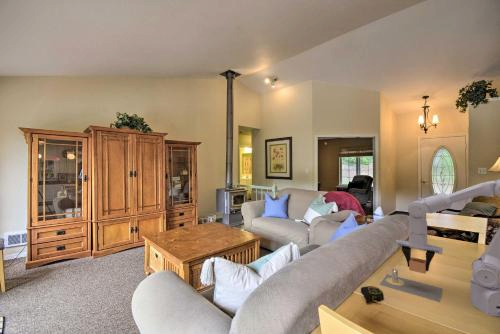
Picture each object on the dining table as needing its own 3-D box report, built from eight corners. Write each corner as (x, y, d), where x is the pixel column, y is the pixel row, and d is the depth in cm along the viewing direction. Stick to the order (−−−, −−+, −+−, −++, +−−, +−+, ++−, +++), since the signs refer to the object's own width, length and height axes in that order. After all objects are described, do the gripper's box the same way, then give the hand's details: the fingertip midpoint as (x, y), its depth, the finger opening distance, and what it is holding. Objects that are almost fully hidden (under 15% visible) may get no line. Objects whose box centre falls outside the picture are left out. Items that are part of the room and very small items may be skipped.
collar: (427, 269, 92) (427, 260, 92) (425, 273, 89) (425, 264, 89) (411, 265, 96) (411, 257, 96) (409, 270, 92) (409, 260, 92)
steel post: (399, 286, 96) (398, 271, 96) (393, 286, 97) (392, 271, 97) (396, 284, 99) (396, 269, 99) (390, 283, 99) (390, 269, 99)
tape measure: (360, 294, 92) (360, 284, 92) (379, 295, 90) (379, 285, 90) (365, 304, 85) (365, 294, 85) (386, 306, 84) (386, 295, 84)
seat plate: (443, 291, 92) (442, 287, 92) (440, 305, 83) (439, 301, 83) (387, 276, 105) (387, 273, 105) (379, 287, 96) (379, 283, 96)
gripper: (443, 233, 90) (443, 270, 90) (398, 227, 100) (398, 260, 100) (441, 238, 85) (441, 276, 85) (394, 231, 95) (394, 265, 95)
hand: (418, 268), depth 92 cm, fingers closed on collar, 5 cm apart
